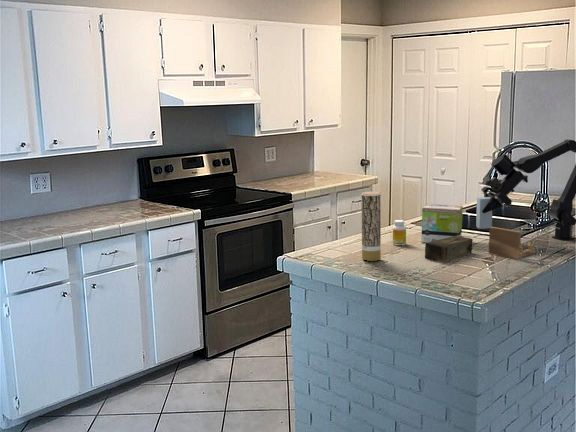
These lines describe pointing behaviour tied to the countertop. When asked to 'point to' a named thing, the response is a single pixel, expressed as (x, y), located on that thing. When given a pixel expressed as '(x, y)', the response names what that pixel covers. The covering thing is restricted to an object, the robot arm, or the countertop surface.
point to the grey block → (483, 214)
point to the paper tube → (371, 226)
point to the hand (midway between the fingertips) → (480, 211)
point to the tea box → (441, 221)
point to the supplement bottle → (399, 233)
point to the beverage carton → (448, 248)
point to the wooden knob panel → (507, 243)
